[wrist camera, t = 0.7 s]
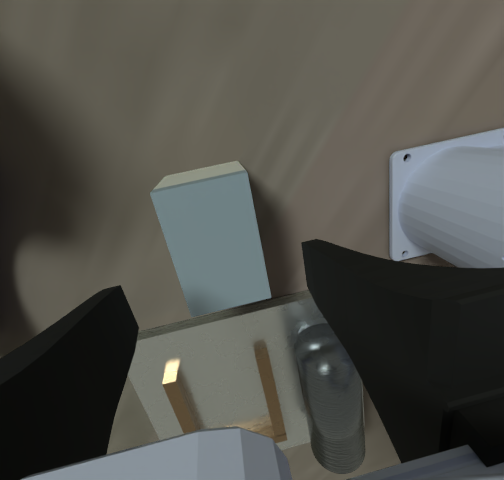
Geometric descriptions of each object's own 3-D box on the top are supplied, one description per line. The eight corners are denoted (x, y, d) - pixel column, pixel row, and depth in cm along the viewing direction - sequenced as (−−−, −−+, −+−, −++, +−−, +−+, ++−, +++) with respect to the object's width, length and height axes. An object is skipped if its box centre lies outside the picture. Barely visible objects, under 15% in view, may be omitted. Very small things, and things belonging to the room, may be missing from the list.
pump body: (237, 160, 18) (247, 172, 13) (257, 259, 20) (271, 297, 16) (165, 175, 17) (150, 193, 13) (195, 273, 20) (191, 317, 16)
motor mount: (350, 279, 22) (392, 324, 17) (359, 417, 28) (391, 479, 23) (118, 336, 21) (89, 402, 16) (180, 466, 27) (173, 542, 22)
